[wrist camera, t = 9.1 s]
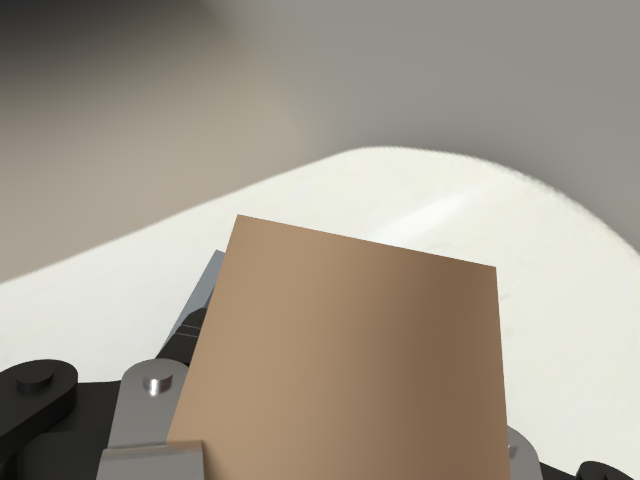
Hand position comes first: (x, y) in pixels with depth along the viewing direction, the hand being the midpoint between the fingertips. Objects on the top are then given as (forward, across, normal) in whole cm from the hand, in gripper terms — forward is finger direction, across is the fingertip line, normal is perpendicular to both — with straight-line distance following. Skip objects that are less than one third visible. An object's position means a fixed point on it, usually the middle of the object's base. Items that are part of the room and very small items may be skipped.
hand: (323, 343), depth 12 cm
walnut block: (+2, 0, +5) cm, 5 cm away
